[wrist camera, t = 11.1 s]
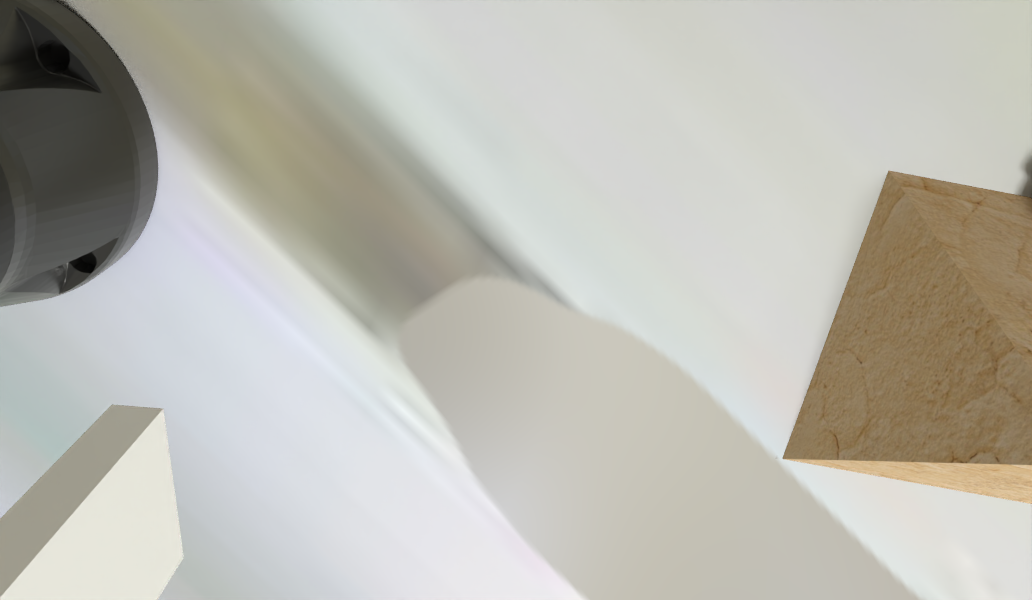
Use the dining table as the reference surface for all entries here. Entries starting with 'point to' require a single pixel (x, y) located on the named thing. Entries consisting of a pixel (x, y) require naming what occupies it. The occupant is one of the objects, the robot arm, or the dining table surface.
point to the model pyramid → (931, 346)
